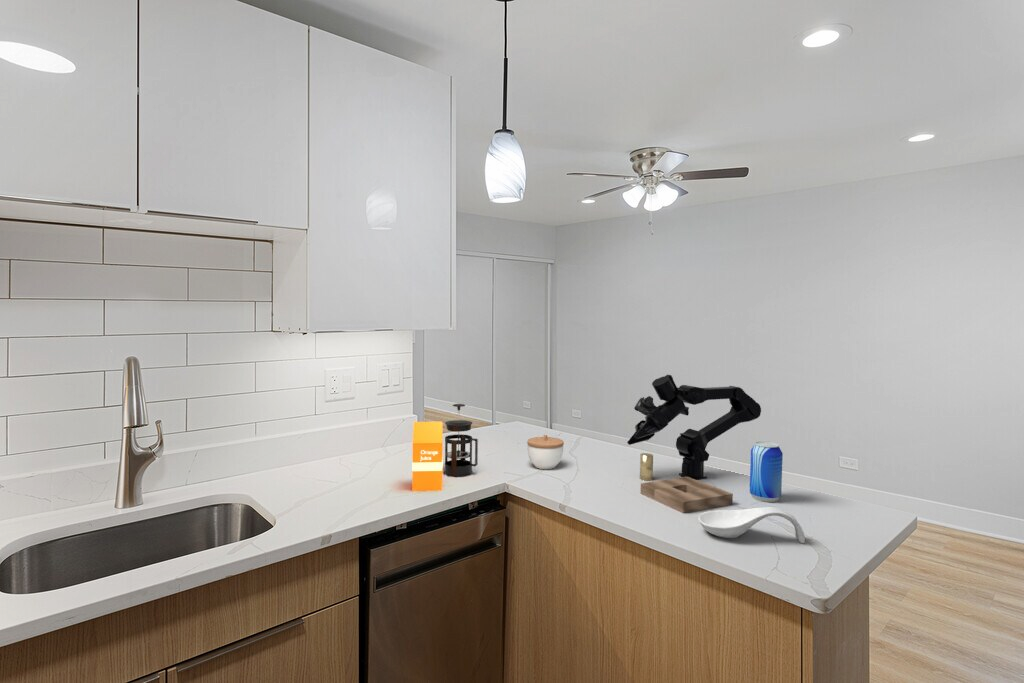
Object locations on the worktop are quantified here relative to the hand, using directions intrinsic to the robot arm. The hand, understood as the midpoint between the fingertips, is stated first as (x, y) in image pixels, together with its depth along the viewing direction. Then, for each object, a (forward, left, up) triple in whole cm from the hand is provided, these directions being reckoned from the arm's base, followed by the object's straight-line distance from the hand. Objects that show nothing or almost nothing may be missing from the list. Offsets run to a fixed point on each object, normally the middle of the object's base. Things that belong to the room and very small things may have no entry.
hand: (631, 440), depth 175 cm
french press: (+45, -32, -14) cm, 57 cm away
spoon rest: (-1, +45, -14) cm, 47 cm away
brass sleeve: (-8, -2, -14) cm, 16 cm away
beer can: (-28, +27, -14) cm, 41 cm away
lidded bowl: (+15, -28, -14) cm, 35 cm away
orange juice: (+59, -22, -14) cm, 65 cm away
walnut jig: (-6, +18, -14) cm, 23 cm away
